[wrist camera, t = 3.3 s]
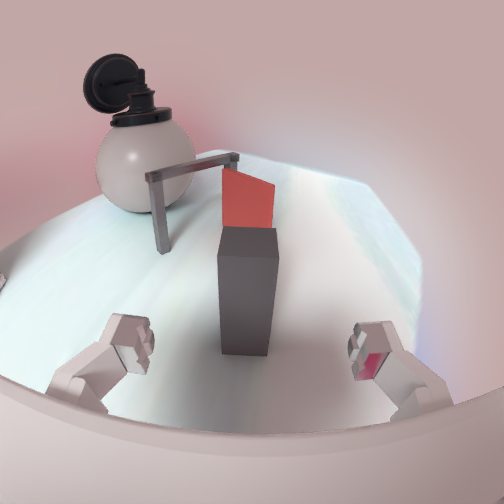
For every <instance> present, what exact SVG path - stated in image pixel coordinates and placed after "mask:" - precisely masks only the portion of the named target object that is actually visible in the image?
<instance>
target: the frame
mask: <svg viewBox="0 0 504 504" xmlns="http://www.w3.org/2000/svg"><path fill="white" fill-rule="evenodd" d="M237 161H239V154H238V153H234V152H232V153H227V154H222V155H217V156H212V157H207V158H203V159H198V160H194V161H190V162H185V163H181V164H177V165H173V166H169V167H165V168H161V169H158V170H154V171H150V172H147V173H145V182H147V183H148V186H149V195H150V203H151V211H152V219H153V226H154V233H155V239H156V246H157V251H158V252H159V253H160V254H162V255H163V254H165V253H167V252H170V245H169V237H168V229H167V221H166V212H165V202H164V192H163V180H166V179H169V178H173V177H176V176H180V175H184V174H188V173H191V172H195V171H199V170H203V169H207V168H211V167H215V166H220V165H224V168H229V169H232V170H235V171H237Z"/></svg>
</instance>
